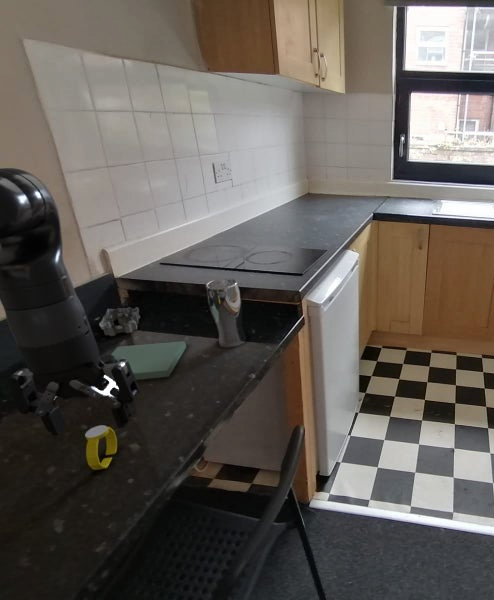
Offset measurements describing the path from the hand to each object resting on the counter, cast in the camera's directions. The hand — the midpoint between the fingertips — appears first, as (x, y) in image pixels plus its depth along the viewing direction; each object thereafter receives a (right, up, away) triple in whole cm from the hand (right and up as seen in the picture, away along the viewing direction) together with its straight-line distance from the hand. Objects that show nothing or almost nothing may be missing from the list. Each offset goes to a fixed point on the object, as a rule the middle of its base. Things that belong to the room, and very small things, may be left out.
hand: (93, 427), depth 59 cm
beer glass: (+5, +9, +37) cm, 38 cm away
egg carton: (-26, +12, +43) cm, 52 cm away
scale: (-10, +5, +27) cm, 30 cm away
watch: (0, -6, +3) cm, 7 cm away
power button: (-14, +6, +22) cm, 26 cm away
